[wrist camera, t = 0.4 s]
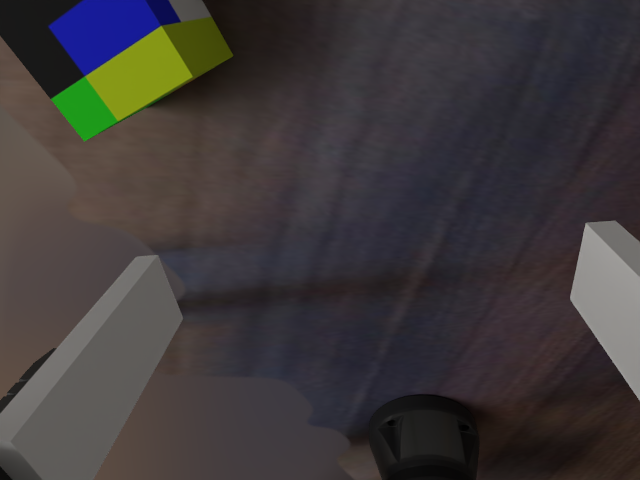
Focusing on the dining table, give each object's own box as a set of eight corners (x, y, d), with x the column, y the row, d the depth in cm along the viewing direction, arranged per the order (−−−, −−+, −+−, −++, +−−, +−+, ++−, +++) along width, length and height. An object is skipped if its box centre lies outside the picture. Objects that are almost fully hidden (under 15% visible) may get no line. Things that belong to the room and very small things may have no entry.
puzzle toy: (161, -73, 31) (85, -97, 22) (233, 55, 35) (193, 76, 27) (69, -3, 34) (-28, -1, 26) (146, 107, 38) (84, 141, 30)
